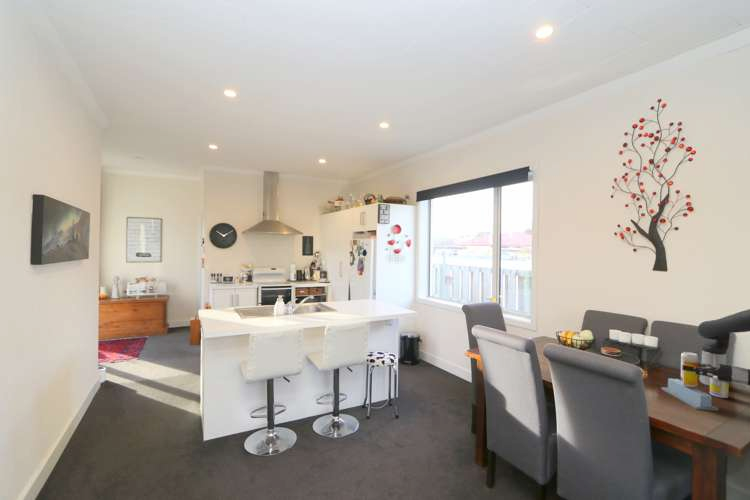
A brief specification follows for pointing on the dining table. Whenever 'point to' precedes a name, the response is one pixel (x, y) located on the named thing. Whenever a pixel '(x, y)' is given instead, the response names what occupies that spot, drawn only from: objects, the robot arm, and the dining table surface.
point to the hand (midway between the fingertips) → (682, 365)
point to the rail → (689, 395)
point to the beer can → (688, 376)
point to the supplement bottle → (718, 387)
